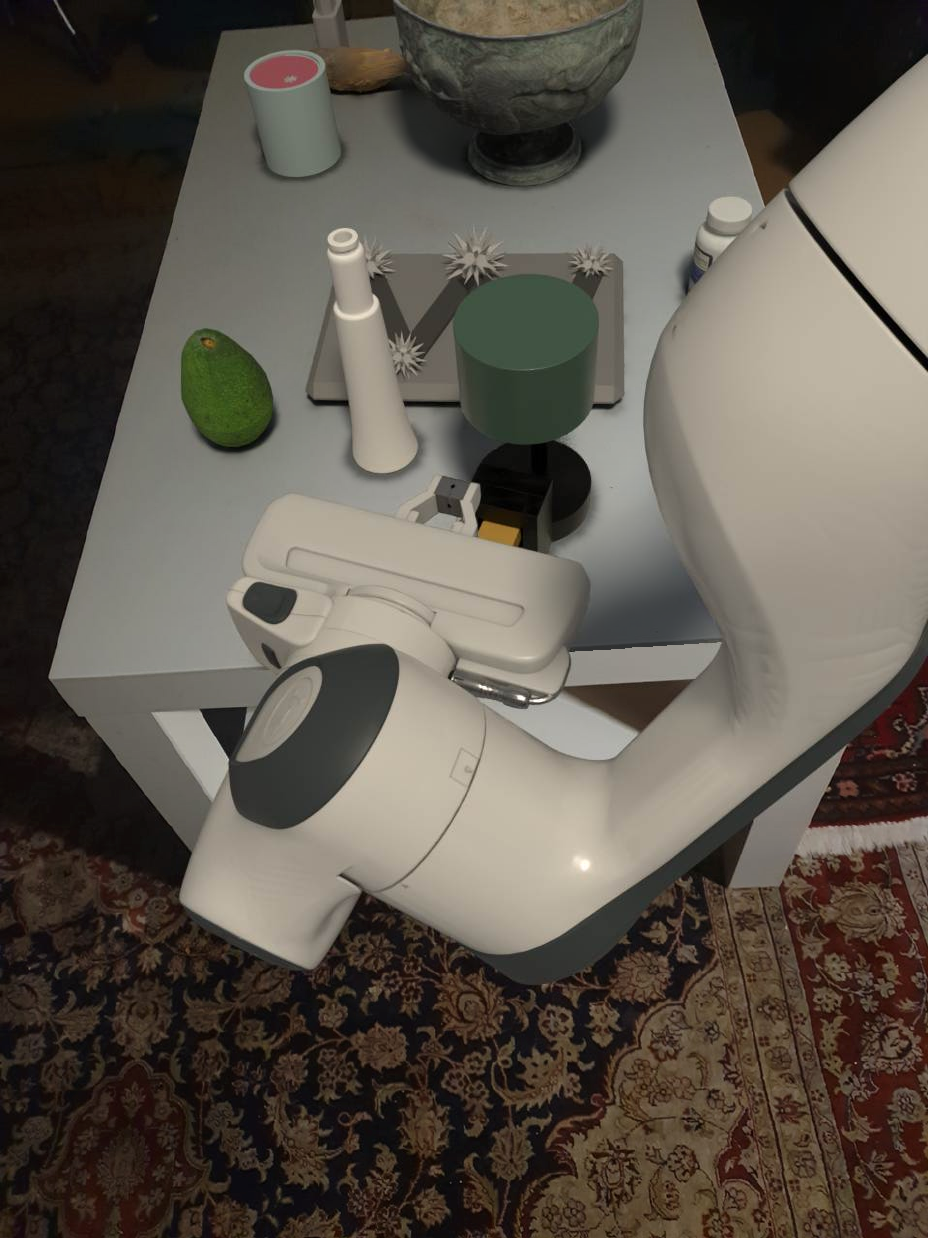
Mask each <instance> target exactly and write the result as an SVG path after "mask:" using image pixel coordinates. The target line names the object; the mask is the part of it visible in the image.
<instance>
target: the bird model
mask: <svg viewBox="0 0 928 1238" xmlns="http://www.w3.org/2000/svg"><path fill="white" fill-rule="evenodd" d="M307 51H308V52H312V53H315V54H317V55H319V56H320V57H321V58H322V59H323V60H324V62H325V67H326V72H327V77H328V83H329V88H330V89H332V90H336V91H340V92H342V91H346V92H350V91H355V92H359V93H361V94H362V93H363V92H369V91H373V90H377V89H379V88H381V87H384V86H386V85H388V83H389V82H392V81H393V80H395V79H396V78H397V77H399V76H403V75H405V74H407V75H409V76H410V74H409V72H408V69H407V67H406V65H405V62H404V60H403V57H402V53H401V54H400V53H397V52H396V53H395V52H392V48H390V47H386V48H384V49H383V50H380V49H376V48H364V47H359V46H358V45H354V46H353V45H352V46H349V47H342V46H336V47H331V48H318V47H315V48H314V47H313V48H311V49H309V50H307Z"/></svg>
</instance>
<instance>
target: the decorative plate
mask: <svg viewBox="0 0 928 1238" xmlns="http://www.w3.org/2000/svg"><path fill="white" fill-rule="evenodd" d="M475 228H476V227H475V224H474V223H473V226H472V233H471V235H470V233H469V230H468V227H467V226H465V241H466V242H465V241H464V240H463V239H462V238H461V237H460V236H459V235H458V234H456V233H455V232H453V233H452V234H453V236H454V238H455V240H456V242H457V244H458V245H459V246H458V245H455V244H452V243H451V242H449V241H448V242H447V243H448V244H449V245H447V247H448V248H449V249H450V250H451V251H453V253H391V252H392V248H390V249H388V250H386V251H384V252H381V249H382V247H383V245H384V242H383V240H381V241H380V242H379V244H378V245H377V246H376V244H377V238H378V237H377V236H375V238H374V241H373V242H372V244H371V246H370V248H369V243H368V241H367V237H366V235H364V240H363V239H360V238H359V237H358V239H359V242H360V243H361V244H362V245H363V247H364V251H365V256H366V262H367V267H368V273H369V278H370V284H371V289H372V294H374V295H375V296H376V297H377V298H378V300H379V303H380V307H381V311H382V315H383V319H384V323H385V327H386V331H387V336H388V340H389V344H390V349H391V353H392V358H393V362H394V366H395V371H396V375H397V379H398V383H399V388H400V391H401V395H402V399H403V402H439V403H440V402H441V403H443V402H446V403H449V402H450V403H454V402H455V403H460V394H459V383H458V373H457V363H456V353H455V343H454V333H453V319H454V315H455V312H456V310H457V308H458V306H459V305H460V303H461V302H462V301H463V300H464V298H465V297H466V296H467V295H469V294H470V293H471V292H472V291H474V290H475V289H476V288H478V287H480V286H482V285H483V284H485V283H488V282H490V281H492V280H495V279H498V278H502V277H506V276H511V275H518V274H541V275H548V276H553V277H557V278H560V279H563V280H566V281H568V282H570V283H572V284H574V285H576V286H578V287H579V288H581V289H582V290H583V291H584V292H586V293H587V294H588V295H589V296H590V298H591V299H592V300H593V302H594V304H595V306H596V308H597V311H598V314H599V330H598V346H597V361H596V377H595V393H594V402H593V405H594V404H595V405H596V404H597V405H599V404H601V405H603V404H604V405H614V404H616V402H618V401H619V400H620V399H622V398H623V397H624V396H625V326H624V324H625V319H624V318H625V317H624V316H625V315H624V312H625V311H624V308H625V307H624V305H625V304H624V261H623V260H622V259H621V258H620V257H619V256H618V255H617V254H615V253H614V252H612V251H609V252H603V251H604V248H605V245H606V244H604V245H603V246H599V245H600V242H598V243H597V245H596V246H595V248H594V250H593V246H592V241H591V240H590V241H589V247H588V242H585V244H583V250H584V251H583V250H582V249H581V248H580V246H578V245H577V246H576V247H575V248H576V251H577V252H559V253H557V252H556V253H555V252H553V253H552V252H551V253H550V252H546V253H545V252H544V253H543V252H541V253H540V252H536V253H533V252H532V253H531V252H529V253H527V252H526V253H524V252H523V253H520V252H519V253H518V252H517V253H513V252H511V253H509V252H508V253H507V251H506V252H505V251H503V252H494V251H496V250H497V249H498V248H499V247H500V246H501V245H502V244H503V243H504V240H502V241H499V242H498V243H496V244H492V245H490V242H491V240H492V236H493V235H494V231H495V230H493V231H492V232H491V233H490V235H489V236H488V237H487V233H488V232H487V228H488V226H486V227H485V228H484V230H483V232H482V234H481V236H480V238H479V239H478V238H477V234H476V229H475ZM486 237H487V238H486ZM380 252H381V253H380ZM336 300H337V298H336V294H335V289H334V285H333V284H332V285H331V289H330V293H329V297H328V301H327V305H326V307H325V313H324V316H323V320H322V323H321V328H320V331H319V336H318V338H317V339H318V340H317V343H316V348H315V351H314V354H313V359H312V363H311V367H310V370H309V374H308V379H307V382H306V386H305V392H306V394H307V395H308V396H309V397H311V399H313V401H349V399H348V393H347V387H346V381H345V376H344V370H343V364H342V359H341V353H340V347H339V341H338V335H337V329H336V322H335V316H334V304H335V302H336Z"/></svg>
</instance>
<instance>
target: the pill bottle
mask: <svg viewBox="0 0 928 1238" xmlns="http://www.w3.org/2000/svg"><path fill="white" fill-rule="evenodd" d="M752 206H753V205H752V204H751V203H750V202H749V201H748V200H746V199H744V198H742V197H739V196H734V195H733V196H732V195H731V196H730V195H727V196H722V197H718V198H716V199H714V200H712V201H711V202H710V204H709V206H708V208H707V214H706V217H705V221H704V222H702V223H701V225H700V226H699V227H698V229H697V232H696V235H695V241H694V248H693V254H692V261H691V266H690V267H691V268H690V272H689V273H690V274H689V281H688V287H687V288H688V289H687V294H688V293H689V292H690V291H691V290H692V288H693V287H694V286H695V284H696V283H697V282H698V281H699V280H700V278H701V277H702V275H703V274H704V273H705V272H706V271H707V270H708V268H709V267H710V266H711V265H712V264H713V262H714V261H715V260H716V259H717V258H718V257H719V255H720V254H721V253H722V252H723V251H724V250H725V249H726V248H727V246H728V245H729V244H730V243H731V242H732V241H733V240H734V239H735V238H736V237H737V236H738V235H739V234H740V232H741V231H742V230H743V229H744V228H745V227H746V226H747V225H748V224H749V223H750V222H751V221H752V217H753V207H752Z"/></svg>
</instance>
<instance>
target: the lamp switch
mask: <svg viewBox="0 0 928 1238" xmlns="http://www.w3.org/2000/svg"><path fill="white" fill-rule="evenodd" d="M478 537H479V538H482V539H486V540H490V541H494V542H498V543H502V544H507V545H511V546H515V547H518V545H519V543H520V540H521V528H519V527H514V526H510V525H506V524H502V523H498V522H493V521H489V520H485V519H484V520H483V522H482V525H481V527H480V529H479V531H478Z"/></svg>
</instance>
